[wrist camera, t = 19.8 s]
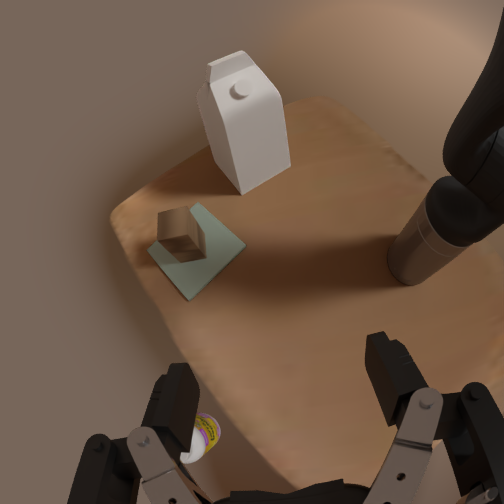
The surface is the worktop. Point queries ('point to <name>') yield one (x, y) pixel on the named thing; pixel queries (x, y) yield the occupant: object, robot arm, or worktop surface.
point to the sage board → (201, 271)
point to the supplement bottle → (202, 437)
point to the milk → (243, 121)
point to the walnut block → (181, 235)
